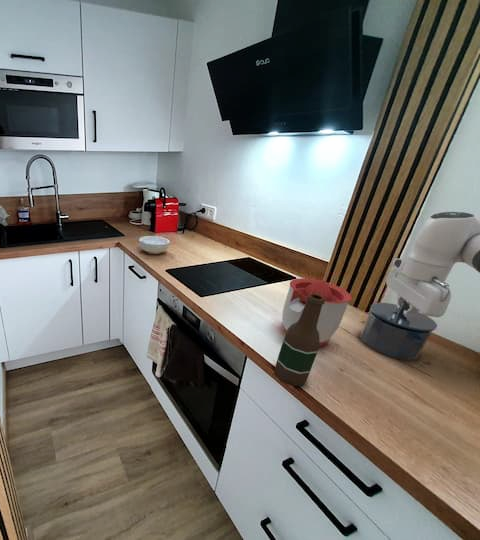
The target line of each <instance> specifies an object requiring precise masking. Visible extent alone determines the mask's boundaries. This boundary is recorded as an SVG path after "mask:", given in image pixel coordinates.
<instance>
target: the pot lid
mask: <svg viewBox="0 0 480 540" xmlns="http://www.w3.org/2000/svg"><path fill="white" fill-rule="evenodd" d="M396 305H397V304H396V303H395V304H394V303H390V302H374V303H372V304H370V308H369V310H370V311H372V312H373V313H374V314H375V315H377V316H378V317H380V318H381V319H383V320H385V321H388V322H390V323H392V324H395V325H398V326H401V327H404V328H408V329H412V330H417V331H432V332H433V331H435V330H436V329H437V328H438V324H437V322H436V320H434V319H432V318H431V317H430V316H426V315H424V314H422V313H421V312H420V311H419V312H417V313H416V314H415V315H414V317H413V318H406V317H405V316H404V315H403V313H404V310H408V309H409V308H410V307H409V306H410V303H409V302H407V301H403V302H402V304H401V306H400V308H399V310H397V309H396V308H395V307H396Z"/></svg>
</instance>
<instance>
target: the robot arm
mask: <svg viewBox="0 0 480 540" xmlns="http://www.w3.org/2000/svg"><path fill="white" fill-rule="evenodd" d="M456 263H463V264H466V265H467V266H469V267H471V268H473V269H474V270H475V271H477V273H479V274H480V220H479V219H478V218H477V217H476V216H475V214H473V213H470V212H461V211H442V212H438V213H434V214H432V215H431V216H430V217H428V218H427V219H426V221H425V222H424V223H423V225H422V227H421V228H420V229H419V232H418V234H417V236H416V238H415V240H414V244H413V249H412V250H411V252H409V254H408V255H407V257H406V258H398V257H397V258H394V259H393V261H392V267H391V268H390V270H389V271H388V275H387V277H386V279H385V282H386V283H385V284H386V287H388V288H389V289H391V291H393V292H395V294H397V296H396V304H395V305H396V307H395V308H396V309H397V310H399V308H400V306H401V304H402V302H403V301H406V302H409V303H410V306H409V307H410V308H409V309H408V310H404V313H403V315H404V316H405V317H406V318H413V317H414V315H415V314H416V313H417V312H420V313H422V314H424V315H426V316H428V317H432V318H433V317H434V318H441V317H443V316H444V315H445V313H446V312H447V309H448V307H449V304H450V302H451V299H452V290H451V289H450V284H449V283H447V282H446V280H447V278H448V276H449V275H450V273H451V271H452V269H453V267H454V265H455V264H456Z"/></svg>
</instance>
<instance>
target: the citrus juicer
mask: <svg viewBox="0 0 480 540" xmlns="http://www.w3.org/2000/svg"><path fill="white" fill-rule="evenodd" d="M309 294H316V295H320V296H322V297H323V298H324V304H323V305H322V308H321V312H320V315H319V319H318V323H317V330H318V332H319V338H320V344H319V347H321V346H323V345H325V344H326V343H327V342H328V341H330V340H331V338H332V337H333V336H334V334H336V332H337V330H338V329H339V327H340V325H341V322H342V320H343V317H344V315H345V312H346V310H347V308H348V306H349V303H350V302H351V301H352V295H351V293H349V292H348V291H347V290H346V289H344V288H343V287H340V286H338V285H336V284H334V283H330V282H328V281H325V280H323V279H320V280H319V279H315V278H314V279H313V278H305V277H304V278H302V277H301V278H294V279H292V280H290V282H289V288H288V291H287V294H286V298H285V301H284V304H283V309H282V317H281V318H282V319H281V320H282V323H281V325H282V330H283V333H284V335H285V334H286V331H287V329H288V328H289V327H290V326H291V325H292V324H294V323H296V322H297V321H298V320H299V318H300V316H301V314H302V311H303V309H304V307H305V304H306V302H307V300H306V299H307V296H308V295H309Z"/></svg>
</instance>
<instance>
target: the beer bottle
mask: <svg viewBox="0 0 480 540" xmlns="http://www.w3.org/2000/svg"><path fill="white" fill-rule="evenodd" d="M306 300H307V302H306V304H305V307H304V309H303V311H302V314H301V316H300V318H299V320H298V321H297V322H296V323H294V324H292V325H291V326H290V327H289V328H288V329H287V331H286V334H285V333H284V337H283V340H282V343H281V347H280V350H279V353H278V355H277V359H276V363H275V367H274V371H273V373H274V374H273V375H274V376H276V378H277V379H278V380H279V381H280V382H281V383H283V384H285V385H289V386H291V387H293V388H294V387H301V386H304V385H306V383H307V381H308V378H309V375H310V373H311V370H312V368H313V365H314V362H315V360H316V357H317V355H318V352H319V349H320V346H319V344H320V338H319V332H318V330H317V323H318V319H319V315H320V312H321V308H322V305H323V304H324V298H323V297H322V296H320V295H316V294H309V295H308V296H307V299H306Z"/></svg>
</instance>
